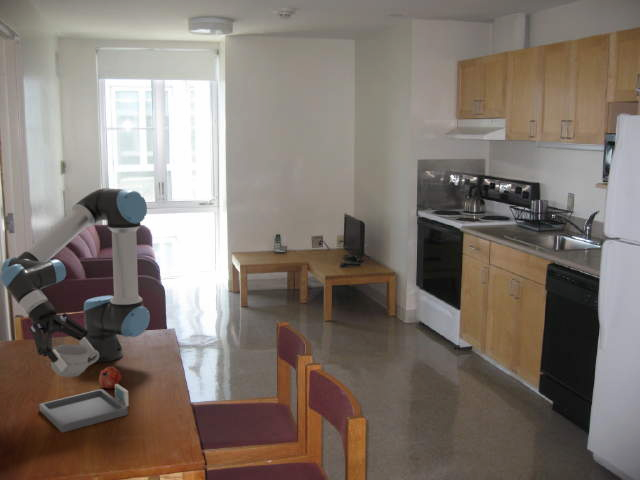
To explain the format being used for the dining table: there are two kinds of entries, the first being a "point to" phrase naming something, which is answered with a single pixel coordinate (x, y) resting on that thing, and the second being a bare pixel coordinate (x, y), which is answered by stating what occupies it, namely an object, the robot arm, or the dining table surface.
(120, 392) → the tag
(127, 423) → the dining table surface
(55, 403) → the tray
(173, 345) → the dining table surface
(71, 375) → the teacup
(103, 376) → the pomegranate
